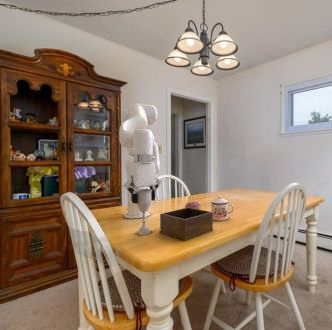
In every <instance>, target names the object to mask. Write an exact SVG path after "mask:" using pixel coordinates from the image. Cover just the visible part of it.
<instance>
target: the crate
mask: <svg viewBox="0 0 332 330" xmlns="http://www.w3.org/2000/svg"><path fill="white" fill-rule="evenodd" d="M213 222H214V220H213V212H211V211H208V210H204V209H194V208H189V207H187V208H185V207H183V208H178V209H174V210H170V211H166V212H161V213H159V234H163V235H166V236H169V237H172V238H175V239H178V240H181V241H184V242H186V241H189V240H191V239H194V238H196V237H199V236H202V235H204V234H206V233H207V234H208V233H209V232H212V231H213V229H214V227H213V226H214V224H213Z"/></svg>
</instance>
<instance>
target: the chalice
mask: <svg viewBox="0 0 332 330" xmlns="http://www.w3.org/2000/svg"><path fill="white" fill-rule="evenodd" d="M151 192H152V189H150V188H147V189H138V190H137V192H136V194H138V203H137V206H138V208H139V210H140V212H142V213H143V216H142V218H141V219H142V220H141V223H142V225H141V227H140V228H138V229H139V230H138V231H137V235H139V236H144V235H148V234H151V230H150V228H149V227H148V225H146V222H147V220H146V216H145V212H147V211H148V210H149V208H150V206H151V203H152V200H151ZM148 212H149V211H148Z"/></svg>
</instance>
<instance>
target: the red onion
mask: <svg viewBox="0 0 332 330" xmlns="http://www.w3.org/2000/svg"><path fill="white" fill-rule="evenodd" d="M189 201H190V202H187V203H186V204H185V206H184V208H187V207H189V208H194V209H199V210H201V208H202V207H201V206H202V205H201V204H200V203H199V202H198V201H192V195H191V194H189Z"/></svg>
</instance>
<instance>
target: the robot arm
mask: <svg viewBox="0 0 332 330" xmlns="http://www.w3.org/2000/svg"><path fill="white" fill-rule="evenodd" d="M120 115H121V124H120V125H119V130H118V138H119V143H120V145H121V146H122V147H123V148H127V153H128V155H129V156H130V157H129V158H127V159H126V160H125V164H124V165H125V166H124V168H125V172H126V181H125V183H123V187H124V188H125V189H126V191H127V207H126V211H127V212H126V213H124V218H126V219H130V220H131V219H143V218H142V216H143V213H142V212H140V210H139V208H138V206H137V203H138V194H136V192H137V190H138V189H152V192H151V202H154V201H156V192H157V189H159V187H160V185H161V184H162V180H160V179H159V178H158V177H157V175H158V174H159V173H160V171H161V161H160V153H159V152H160V151H159V146H158V143H157V142H156V139H155V135H154V134H153V131H152V130H150V129H147V127H148V126H153V125H154V124H155V123H156V122H157V119H158V116H159V112H158V109H157V107H156V105H153V104H145V103H137V102H136V103H131V104H130V105H128V107H127V109H123V111H121V114H120ZM147 187H148V188H147ZM150 215H151V213H150V211H147V212H145V216H146V217H148V216H150ZM146 217H145V218H146Z"/></svg>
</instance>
